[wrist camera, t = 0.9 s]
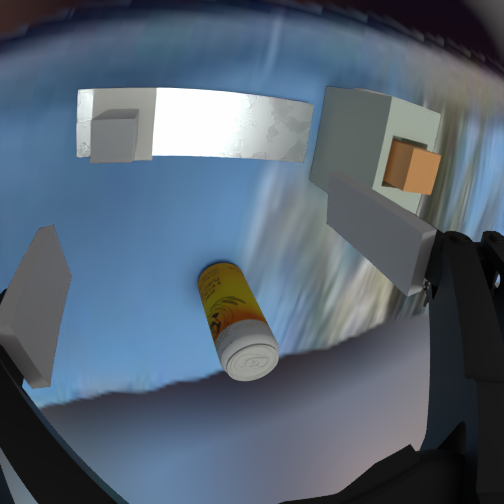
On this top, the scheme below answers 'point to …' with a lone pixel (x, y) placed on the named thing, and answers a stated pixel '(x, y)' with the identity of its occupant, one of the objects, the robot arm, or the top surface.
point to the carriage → (122, 124)
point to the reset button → (411, 167)
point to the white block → (369, 138)
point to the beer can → (237, 323)
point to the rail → (217, 125)
